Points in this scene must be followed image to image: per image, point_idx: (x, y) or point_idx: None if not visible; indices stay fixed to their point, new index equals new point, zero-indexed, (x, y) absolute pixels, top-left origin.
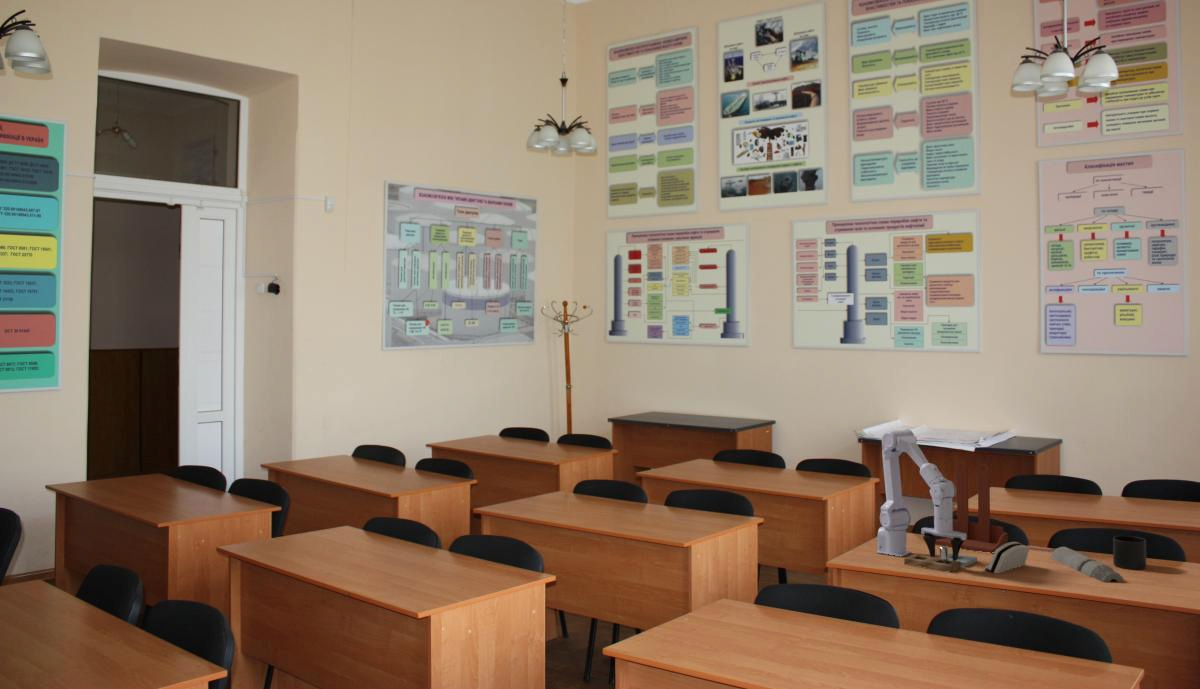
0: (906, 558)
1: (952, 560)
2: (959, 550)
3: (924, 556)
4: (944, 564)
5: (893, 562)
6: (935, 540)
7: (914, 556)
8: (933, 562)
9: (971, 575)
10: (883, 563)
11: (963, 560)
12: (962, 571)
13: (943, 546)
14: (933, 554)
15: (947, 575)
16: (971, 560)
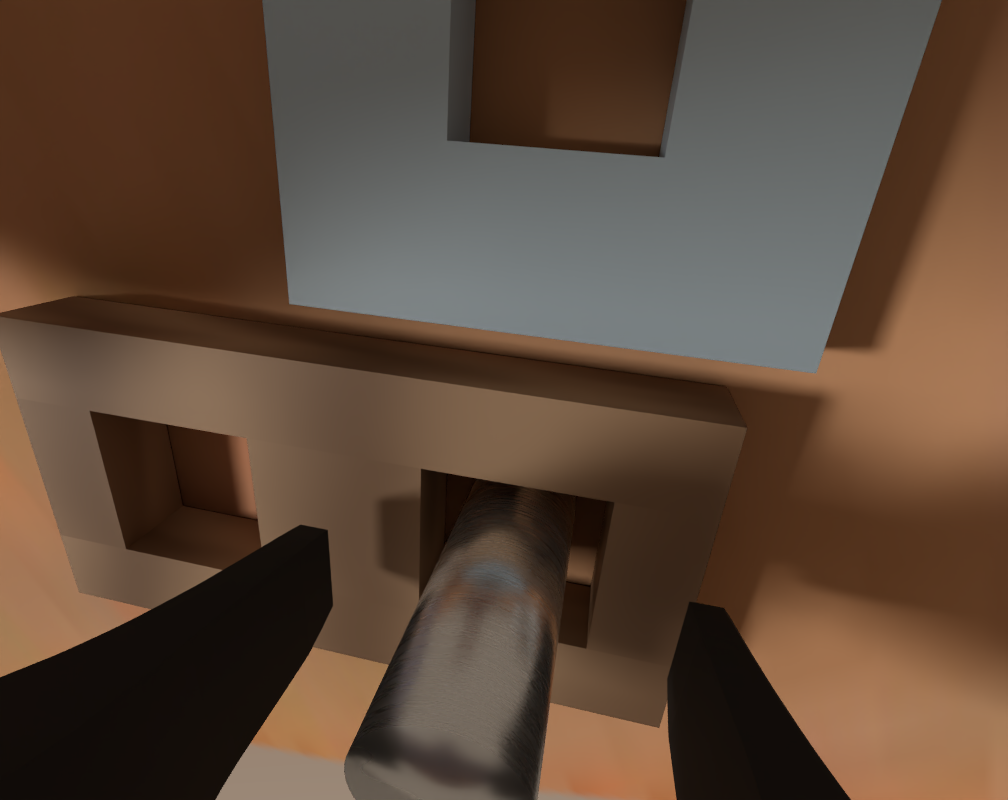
0: (91, 581)
1: (595, 428)
2: (831, 776)
3: (159, 392)
4: (561, 675)
5: (28, 517)
6: (72, 735)
7: (80, 455)
8: None
9: (929, 692)
10: (8, 584)
11: (760, 203)
12: (786, 569)
13: (410, 767)
14: (313, 600)
15: (652, 757)
16: (929, 9)
